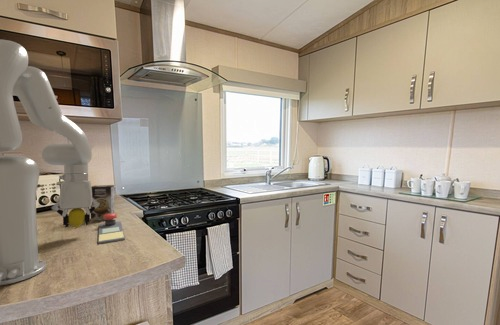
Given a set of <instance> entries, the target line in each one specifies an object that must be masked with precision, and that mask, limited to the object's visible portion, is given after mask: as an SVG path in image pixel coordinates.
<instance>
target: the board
mask: <svg viewBox="0 0 500 325" xmlns="http://www.w3.org/2000/svg"><path fill="white" fill-rule="evenodd" d="M125 240H126V239H125V233H124V229H123V226H122V221H121V220H120V221H119V220H118V221H116V218H115V219H110V220H104V223H99V224H98V241H97V244H98V245H101V244H107V243H108V244H109V243H112V242H113V243H115V242H120V241H125Z"/></svg>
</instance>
